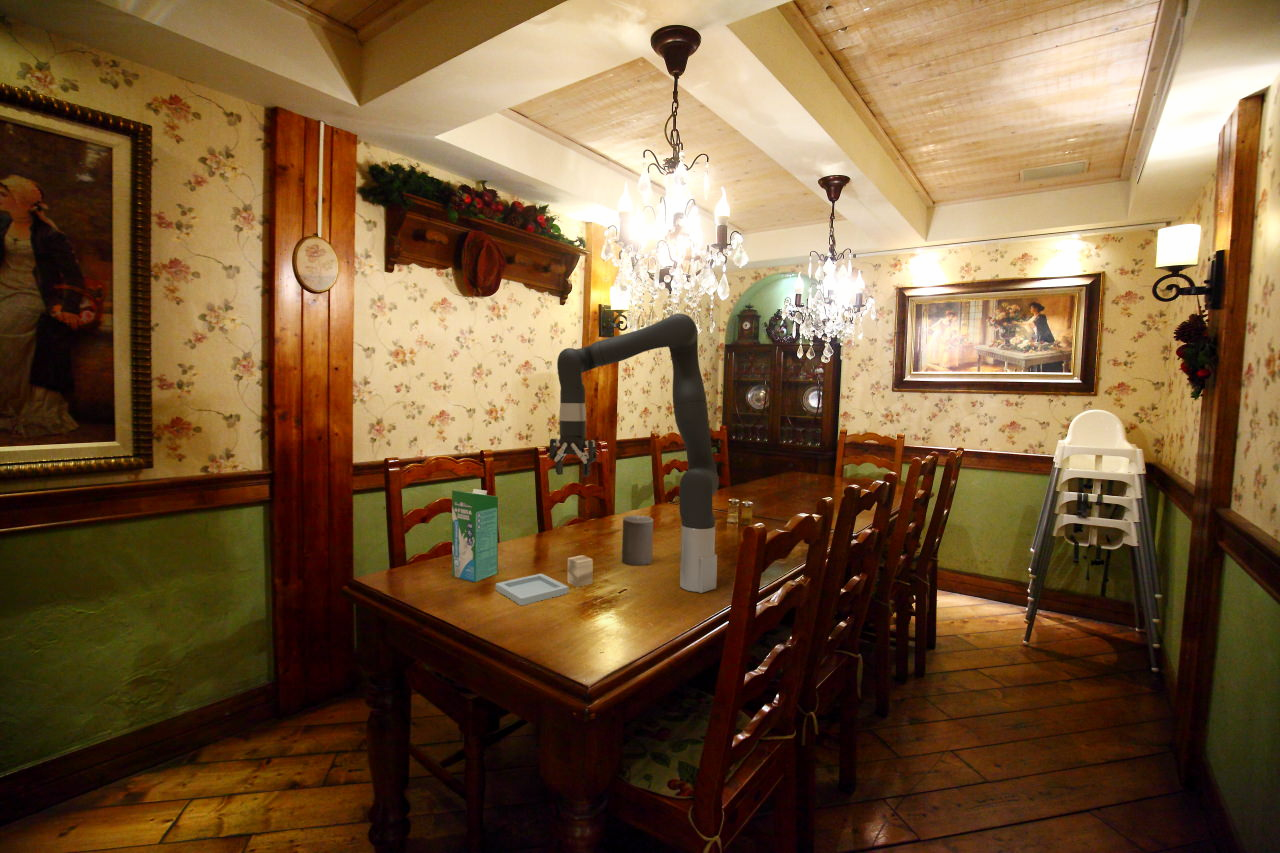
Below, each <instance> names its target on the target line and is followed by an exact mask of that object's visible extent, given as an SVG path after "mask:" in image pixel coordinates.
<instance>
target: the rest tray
mask: <svg viewBox="0 0 1280 853" xmlns="http://www.w3.org/2000/svg"><path fill="white" fill-rule="evenodd" d="M569 588H570V587H569V586H568V585H565V584H564V583H562V582H560V581H558V580H555V579H554V578H551V577H550V576H548V575H546V574H543V573H542V572H541V573H537V574H534V575H528V576H524V577H519V578H515V579H511V580H510V579H509V580H506V581H501V582H497V583H495V591H496V590H497V591H496V592H498V593H500V594H502V595H503V596H504V595H505V597H506V596H507V597H506V598H508V599H509V598H510V599H509V600H511V601H513V602H514V601H515V602H514V603H516V604H517V605H519V606H525V605H531V604H533V603H537V601H538V602H540V601H541V600H542V601H545V599H546V600H550V599H552V597H553V598H556V596H557V597H561V596H564V594H565V595H568V594H567V593H569V594H570V589H569ZM560 595H561V596H560Z"/></svg>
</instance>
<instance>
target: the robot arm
mask: <svg viewBox="0 0 1280 853" xmlns="http://www.w3.org/2000/svg"><path fill="white" fill-rule="evenodd" d="M698 335H699V331H698V326H697V324H696V322H695V321H694V319H692V317H691V316H689V315H687V314H685V313H674V314H672V315H670V316H668V317H666V318H664V319H662V320H659V321H657V322H655V323H653V324H651V325H648V326H646V327H643V328H640V329H638V330H634V331H630V332H627V333H623V334H620V335H616V336H611V337H608V338H603V339H600V340H598V341H595V342H593V343H592V344H590V345H587V346H584V347H581V348H573V347H572V348H571V347H568V348H564V349H563V350H561V351H560V353H559V354H558V357H557V362H556V363H557V364H556V365H557V367H556V368H557V375H558V376H557V377H558V381H559V385H560V393H559V394H560V395H559V396H560V397H559V398H560V400H559V402H560V404H559V411H558V412H559V413H558V414H559V416H558V417H559V419H558V420H559V429H558V430H559V432H558V433H559V439H558V438H556V437H555V438H550V440H549V456H548V458H549V460H552V461H554V462H555V473H556V475H557V476H558V475H559V476H562V475H563V474H564V461H563V460H564V458H565V457H566V456H567V455H573V456H577V457H578V458H579V459H580V460H581V461H582V462H583V463H582V477H585V478H586V477H589V476H590V474H591V464H592V463H593V462H596V461H597V460H598V458H597V441H596V440H595V439H592V440H587V438H586V435H587V410H586V388H585V385H584V383H583V377H582V373H586V372H588V371H591V370H594V369H596V368H599V367H603V366H608V365H611V364H615V363H619V362H622V361H625V360H627V359H630V358H632V357H634V356H637V355H639V354H642V353H644V352H648V351H651V350H654V349H661V348H662V349H664V348H668V349H669V353H670V359H671V363H672V364H671V365H672V405H673V406H672V407H673V413H674V420H675V424H676V428H677V430H678V432H679V435H680V437H681V439H682V441H683V445H684V447H685V451H686V457H687V471H686V472H684V473H683V474H682V476H681V478H680V480H679V486H678V487H679V490H678V492H679V493H678V494H679V496H678V498H679V501H678V502H679V503H678V506H679V508H678V509H679V516H680V518H681V519H680V520H681V530H680V531H681V532H680V533H681V535H680V570H679V571H680V575H679V576H680V578H679V580H680V581H679V586H680V587H681V589H684V590H685V591H689V592H693V593H695V592H697V593H700V594H703V593H706V592H708V591H712V590H716V589H717V573H718V571H717V570H718V555H717V554H716V553H715V544H716V543H715V541H716V540H715V539H716V537H715V536H716V516H715V515H714V513H713V496H714V495H715V494H716V493H717V491H718V489H719V484H720V480H719V476H718V472H717V466H716V462H715V459H714V455H713V454H714V453H713V450H712V441H711V430H710V421H709V411H708V410H709V409H708V403H707V402H708V401H707V398H706V397H707V396H706V391H705V385H704V381H703V377H702V374H701V370H700V369H701V368H700V364H699V363H700V362H699V349H698V344H699V343H698V340H699V338H698ZM559 446H560V449H559V450H558V447H559ZM586 448H587V449H588V452H587V450H586Z"/></svg>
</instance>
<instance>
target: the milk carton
mask: <svg viewBox="0 0 1280 853" xmlns="http://www.w3.org/2000/svg"><path fill="white" fill-rule="evenodd" d="M487 493H488V490H484V489H483V490H482V489H479V488H478V489H477V488H473V489H472V492H468V491H462V490H451V503H452V504H451V518H452V519H451V520H452V521H451V527H452V528H451V540H452V541H451V544H452V545H451V548H452V550H451V551H452V552H451V553H452V555H451V556H452V557H451V558H452V559H451V560H452V561H451V562H452V563H451V564H452V566H451V568H452V570H451V572H452V577H454V578H458V579H461V580H466V581H469V582H473V583H476V582H479V581H482V580H483V579H487V578H489V577H491V576H494V575H498V574H499V572H498V570H499V569H498V568H499V565H498V564H499V562H498V560H499V559H498V558H499V552H498V551H499V544H498V543H499V535H498V534H499V531H498V530H499V515H498V514H499V497H498V496H496V495H488V494H487ZM497 573H498V574H497Z"/></svg>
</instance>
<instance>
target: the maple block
mask: <svg viewBox="0 0 1280 853" xmlns="http://www.w3.org/2000/svg"><path fill="white" fill-rule="evenodd" d="M593 561H594V559H593V558H591V557H588V556H586V555H583V554H582V555H577V556H572V557H568V558H567V578H566V579H567V582H568V583H567V584H569V583H570V584H569V585H571V584H572V585H571V586H573V585H574V586H573V587H575V586H576V588H577V587H578V588H581V587H580V586H582V587H584V585H586V586H588V585H587V584H590V585H592V584H593V579H594V578H593V568H594V567H593V564H594V562H593Z"/></svg>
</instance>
